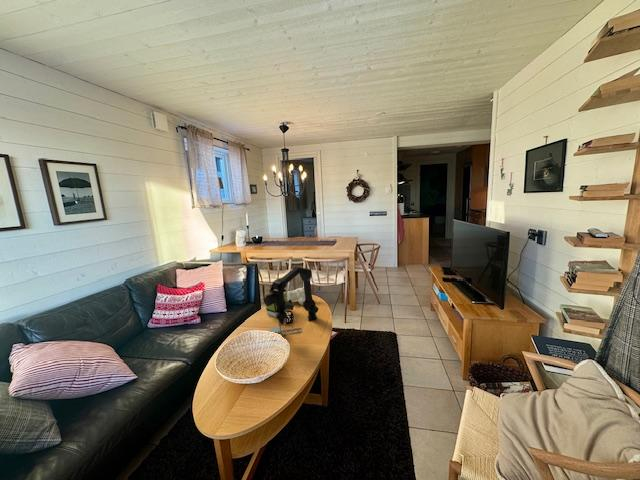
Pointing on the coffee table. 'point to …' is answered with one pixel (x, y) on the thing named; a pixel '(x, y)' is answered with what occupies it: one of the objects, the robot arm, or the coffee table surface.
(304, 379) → the coffee table surface
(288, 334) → the track
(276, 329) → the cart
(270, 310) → the tea box
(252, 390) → the coffee table surface
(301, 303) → the fox head
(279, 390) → the coffee table surface
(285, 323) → the block
